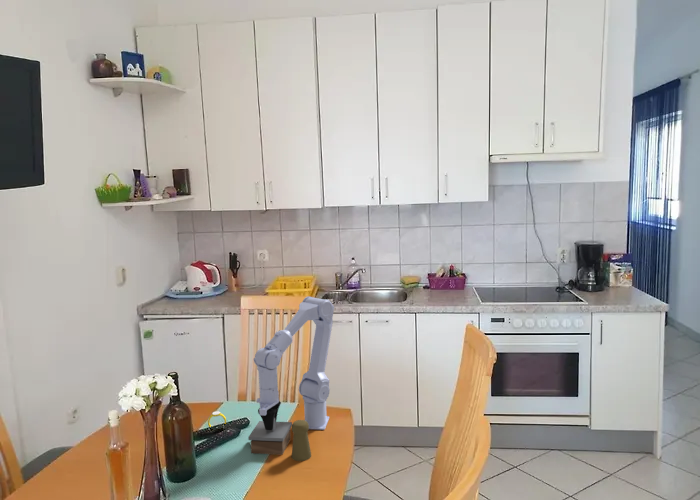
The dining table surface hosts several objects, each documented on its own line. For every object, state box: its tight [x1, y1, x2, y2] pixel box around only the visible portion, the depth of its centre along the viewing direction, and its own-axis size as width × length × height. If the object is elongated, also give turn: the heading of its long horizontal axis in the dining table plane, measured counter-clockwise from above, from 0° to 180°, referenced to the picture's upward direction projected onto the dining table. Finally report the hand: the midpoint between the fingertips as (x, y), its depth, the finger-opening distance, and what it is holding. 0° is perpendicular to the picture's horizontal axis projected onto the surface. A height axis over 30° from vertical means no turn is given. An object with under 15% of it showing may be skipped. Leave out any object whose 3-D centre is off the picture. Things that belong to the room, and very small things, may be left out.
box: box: [250, 429, 292, 456], centre depth 168 cm, size 10×10×4 cm
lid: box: [247, 417, 293, 441], centre depth 167 cm, size 11×11×4 cm
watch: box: [207, 410, 227, 427], centre depth 181 cm, size 6×3×6 cm, turn 98°
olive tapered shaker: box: [291, 419, 312, 462], centre depth 161 cm, size 6×6×11 cm
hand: (270, 427), depth 167 cm, fingers closed on lid, 3 cm apart
